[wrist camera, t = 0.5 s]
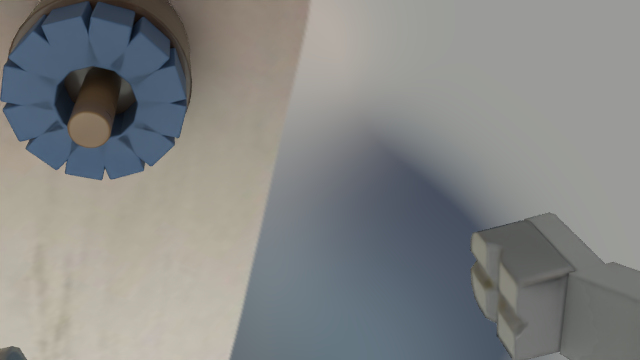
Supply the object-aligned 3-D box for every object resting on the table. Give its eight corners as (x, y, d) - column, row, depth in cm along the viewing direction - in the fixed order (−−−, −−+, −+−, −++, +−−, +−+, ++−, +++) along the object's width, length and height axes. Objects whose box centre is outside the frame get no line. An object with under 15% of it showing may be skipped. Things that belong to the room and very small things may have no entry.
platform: (-1, -6, 25) (-72, 59, 18) (161, -45, 26) (156, 3, 19) (67, 137, 29) (31, 239, 22) (207, 101, 29) (218, 188, 22)
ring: (-16, 25, 22) (-34, 43, 20) (154, -16, 22) (152, -3, 21) (56, 170, 25) (47, 197, 23) (203, 131, 26) (205, 154, 24)
